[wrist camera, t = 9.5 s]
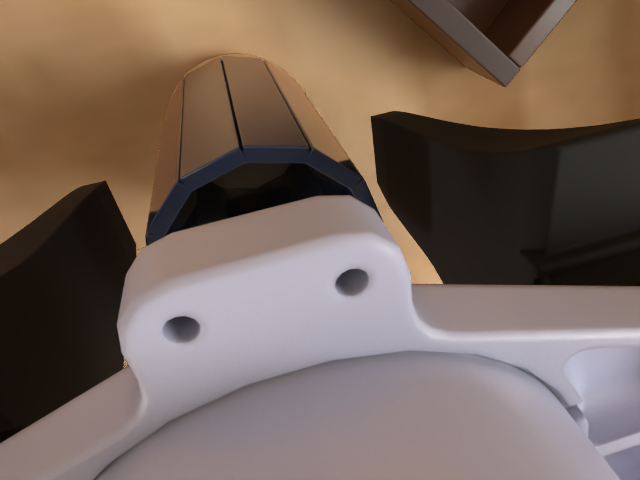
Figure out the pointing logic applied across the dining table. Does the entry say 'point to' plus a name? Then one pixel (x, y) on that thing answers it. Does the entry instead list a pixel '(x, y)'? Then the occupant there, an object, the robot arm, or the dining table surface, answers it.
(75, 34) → the dining table surface
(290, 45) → the dining table surface
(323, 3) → the dining table surface
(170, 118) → the cup
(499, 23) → the cup holder
